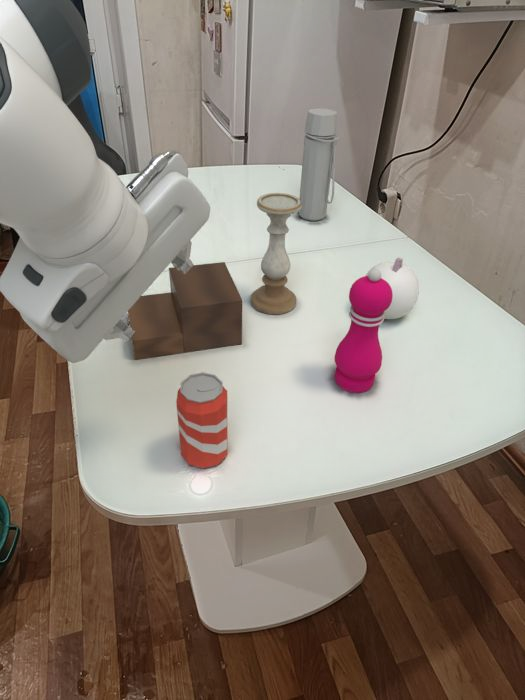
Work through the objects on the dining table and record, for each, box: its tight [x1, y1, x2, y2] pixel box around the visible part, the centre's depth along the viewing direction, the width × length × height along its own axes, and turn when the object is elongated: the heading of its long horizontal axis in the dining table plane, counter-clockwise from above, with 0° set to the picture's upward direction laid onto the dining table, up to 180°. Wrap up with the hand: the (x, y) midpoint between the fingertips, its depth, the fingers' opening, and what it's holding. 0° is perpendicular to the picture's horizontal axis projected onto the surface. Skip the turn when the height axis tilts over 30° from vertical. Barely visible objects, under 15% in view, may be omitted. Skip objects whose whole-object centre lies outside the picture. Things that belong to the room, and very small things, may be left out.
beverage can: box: [175, 371, 229, 469], centre depth 65 cm, size 6×6×12 cm
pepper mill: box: [334, 269, 393, 394], centre depth 75 cm, size 7×7×20 cm
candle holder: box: [250, 192, 302, 315], centre depth 92 cm, size 9×9×20 cm
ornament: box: [365, 257, 420, 320], centre depth 93 cm, size 10×10×12 cm
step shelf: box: [127, 261, 244, 361], centre depth 87 cm, size 18×13×9 cm
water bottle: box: [297, 107, 340, 222], centre depth 122 cm, size 9×8×25 cm
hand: (156, 299), depth 55 cm, fingers open, 8 cm apart
